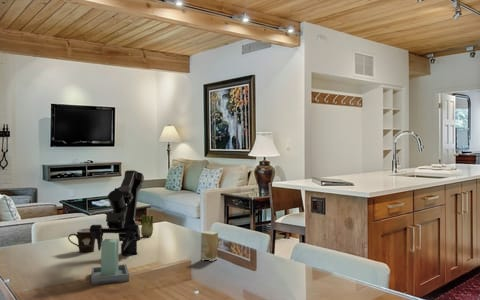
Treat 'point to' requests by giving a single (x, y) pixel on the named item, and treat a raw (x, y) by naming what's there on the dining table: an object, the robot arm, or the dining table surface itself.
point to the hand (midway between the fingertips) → (111, 250)
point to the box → (120, 277)
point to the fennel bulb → (147, 226)
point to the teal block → (109, 257)
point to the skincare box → (209, 245)
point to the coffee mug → (84, 240)
